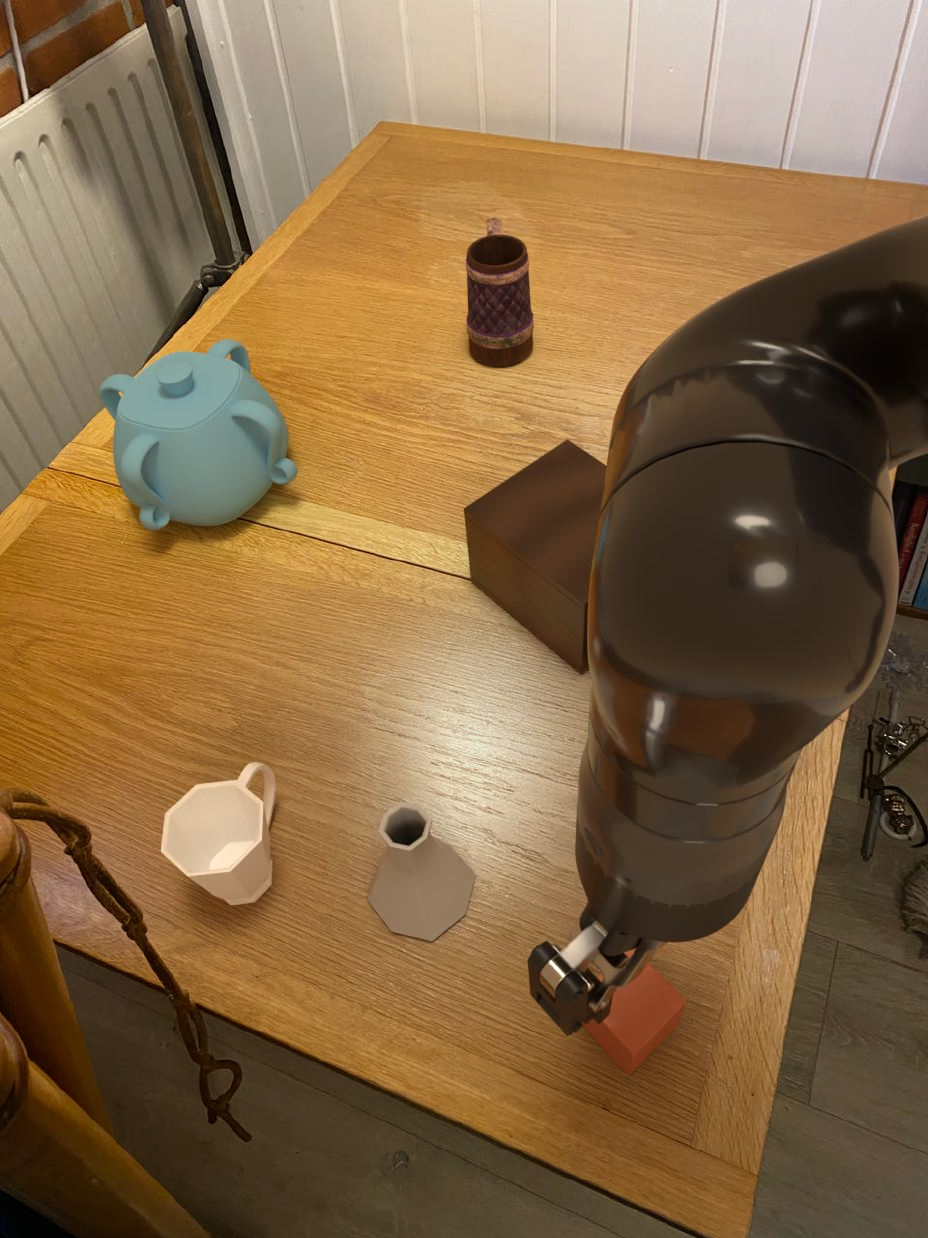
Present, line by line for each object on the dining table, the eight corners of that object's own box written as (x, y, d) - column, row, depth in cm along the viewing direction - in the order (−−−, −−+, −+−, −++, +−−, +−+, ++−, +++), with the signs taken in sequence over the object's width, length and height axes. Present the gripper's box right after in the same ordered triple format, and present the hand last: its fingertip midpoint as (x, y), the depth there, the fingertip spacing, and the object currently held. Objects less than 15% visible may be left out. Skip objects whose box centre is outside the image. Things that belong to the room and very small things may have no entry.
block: (625, 971, 62) (630, 944, 58) (678, 1025, 60) (687, 1001, 56) (576, 1019, 60) (578, 995, 56) (628, 1077, 58) (634, 1056, 54)
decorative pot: (127, 450, 98) (74, 338, 87) (281, 411, 100) (247, 296, 89) (141, 563, 88) (83, 452, 77) (311, 517, 90) (278, 402, 79)
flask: (436, 961, 63) (419, 904, 55) (349, 906, 66) (322, 843, 58) (493, 872, 67) (486, 807, 59) (409, 823, 70) (391, 754, 62)
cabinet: (679, 597, 81) (691, 522, 74) (581, 675, 76) (584, 603, 69) (566, 514, 88) (567, 438, 80) (470, 581, 83) (463, 508, 76)
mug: (535, 367, 101) (533, 264, 92) (468, 370, 101) (459, 268, 92) (532, 310, 107) (530, 208, 98) (469, 313, 108) (461, 212, 98)
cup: (177, 909, 67) (138, 862, 60) (239, 786, 72) (209, 730, 66) (268, 937, 65) (237, 890, 59) (323, 808, 71) (301, 753, 64)
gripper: (615, 1011, 33) (597, 1112, 46) (869, 760, 38) (788, 914, 51) (472, 859, 36) (492, 991, 49) (720, 649, 42) (680, 819, 54)
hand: (642, 952), depth 50 cm, fingers open, 7 cm apart
